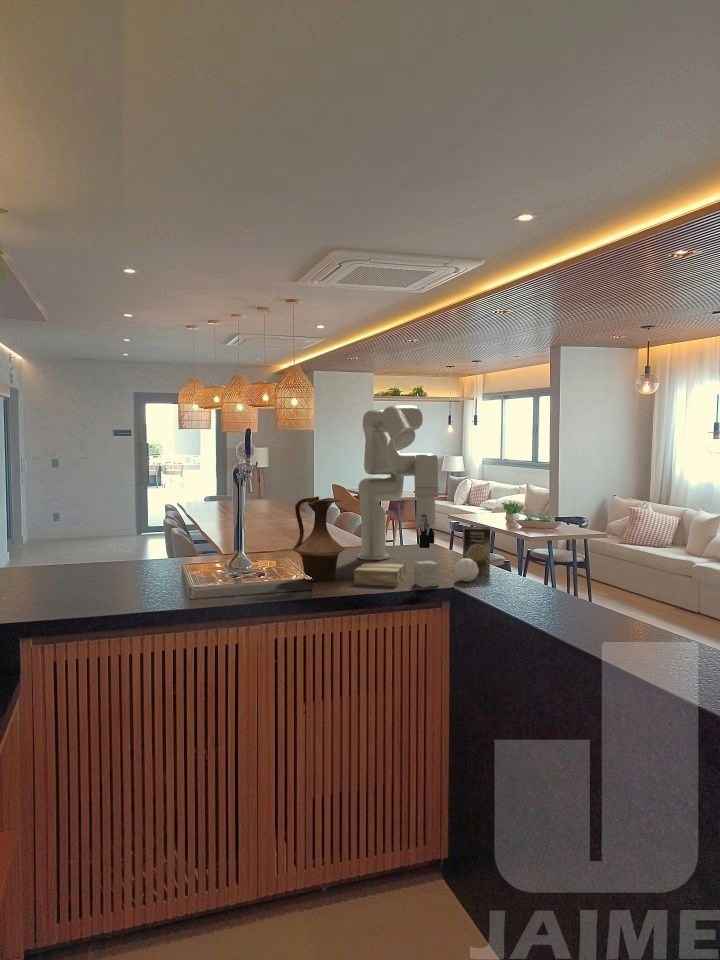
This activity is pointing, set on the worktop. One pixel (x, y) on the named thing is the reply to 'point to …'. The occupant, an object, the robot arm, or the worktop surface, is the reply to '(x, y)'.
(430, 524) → the robot arm
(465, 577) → the geometric ball
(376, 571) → the birch block
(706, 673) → the worktop surface
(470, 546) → the coffee box
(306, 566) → the pitcher
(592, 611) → the worktop surface
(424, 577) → the product box
